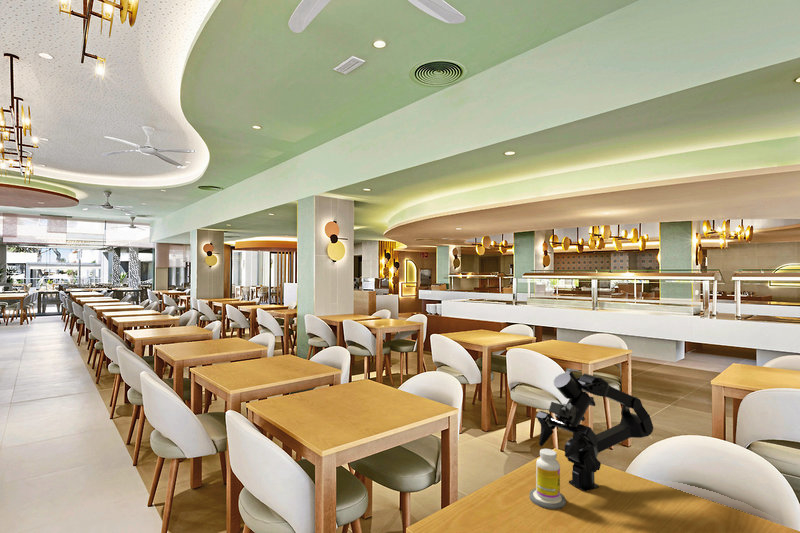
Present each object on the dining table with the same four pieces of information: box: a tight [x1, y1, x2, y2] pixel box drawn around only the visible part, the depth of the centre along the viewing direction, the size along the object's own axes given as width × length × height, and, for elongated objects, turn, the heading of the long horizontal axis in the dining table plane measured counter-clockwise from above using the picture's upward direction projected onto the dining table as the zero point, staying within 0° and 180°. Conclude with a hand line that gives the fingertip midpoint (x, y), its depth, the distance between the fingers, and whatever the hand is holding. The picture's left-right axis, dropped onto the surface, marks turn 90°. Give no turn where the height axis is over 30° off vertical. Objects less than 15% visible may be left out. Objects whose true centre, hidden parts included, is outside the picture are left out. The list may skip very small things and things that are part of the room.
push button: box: [529, 487, 567, 510], centre depth 122 cm, size 10×10×1 cm
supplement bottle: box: [535, 448, 561, 501], centre depth 122 cm, size 7×7×13 cm
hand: (552, 450), depth 124 cm, fingers open, 9 cm apart
